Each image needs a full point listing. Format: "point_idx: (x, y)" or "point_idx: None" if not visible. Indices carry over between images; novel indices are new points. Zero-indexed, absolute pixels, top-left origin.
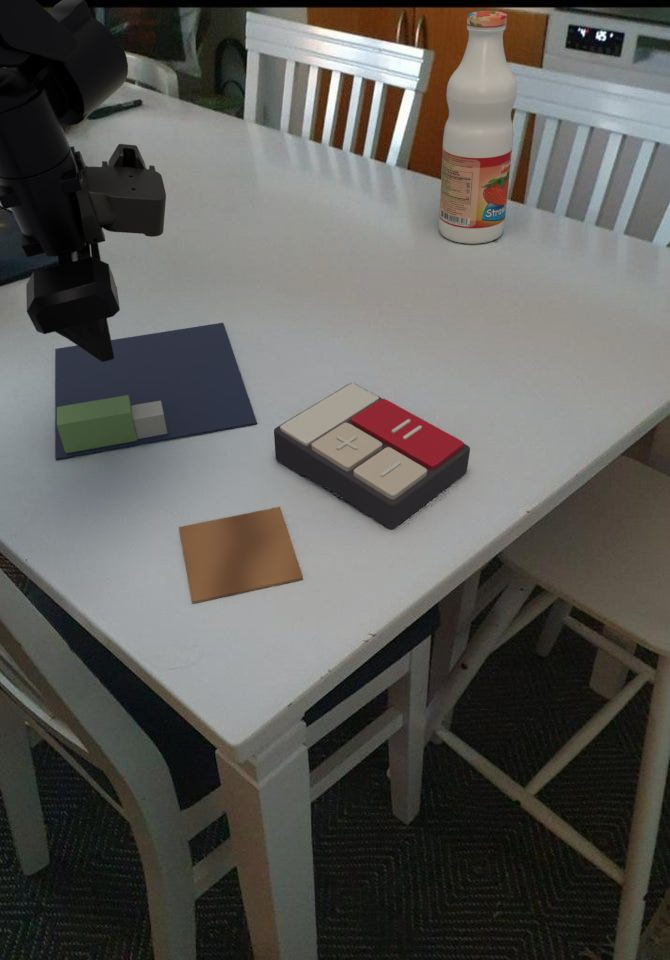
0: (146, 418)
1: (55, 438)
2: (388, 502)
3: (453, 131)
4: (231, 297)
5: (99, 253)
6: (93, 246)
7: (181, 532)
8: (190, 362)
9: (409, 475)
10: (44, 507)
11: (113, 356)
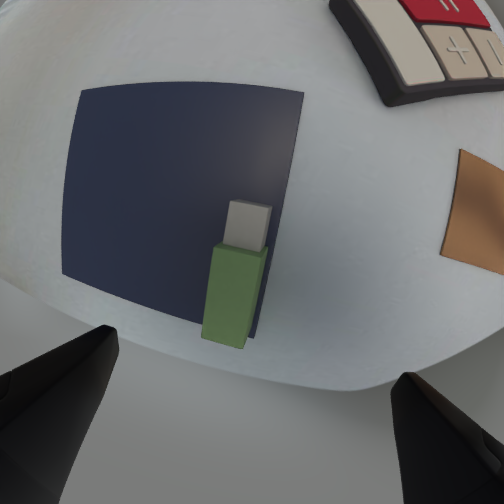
0: (263, 233)
1: None
2: None
3: None
4: (52, 82)
5: (18, 398)
6: (9, 439)
7: (448, 255)
8: (130, 136)
9: (501, 47)
10: (327, 362)
11: (419, 376)
